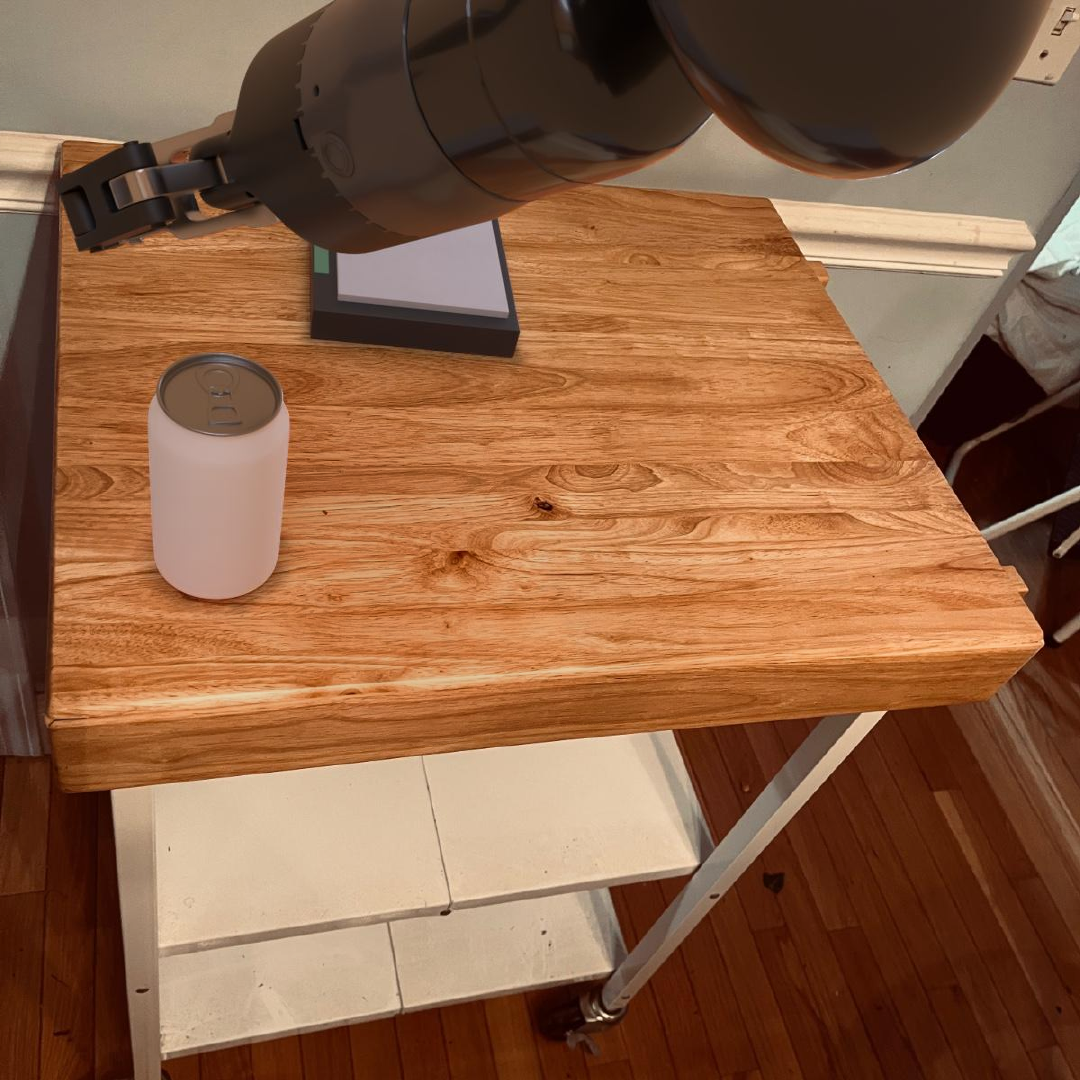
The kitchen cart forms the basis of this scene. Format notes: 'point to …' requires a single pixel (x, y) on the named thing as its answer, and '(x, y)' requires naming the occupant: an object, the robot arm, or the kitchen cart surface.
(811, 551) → the kitchen cart surface
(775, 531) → the kitchen cart surface
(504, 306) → the scale
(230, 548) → the can
